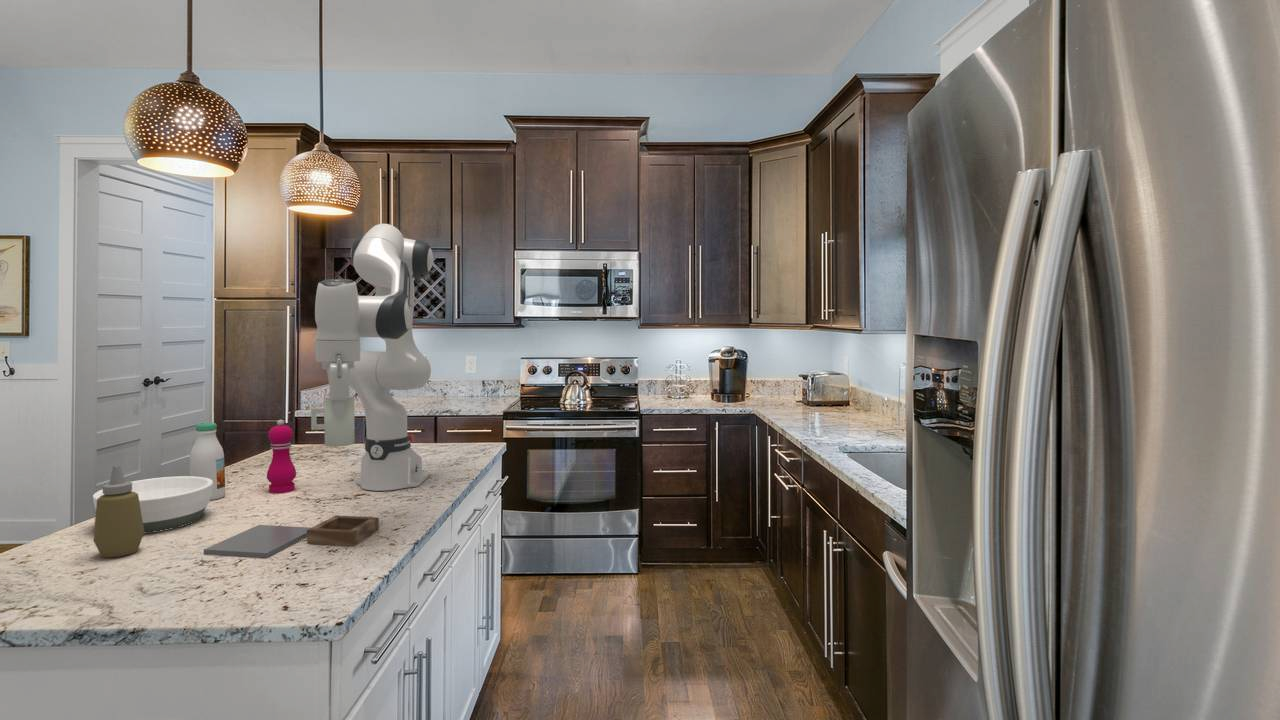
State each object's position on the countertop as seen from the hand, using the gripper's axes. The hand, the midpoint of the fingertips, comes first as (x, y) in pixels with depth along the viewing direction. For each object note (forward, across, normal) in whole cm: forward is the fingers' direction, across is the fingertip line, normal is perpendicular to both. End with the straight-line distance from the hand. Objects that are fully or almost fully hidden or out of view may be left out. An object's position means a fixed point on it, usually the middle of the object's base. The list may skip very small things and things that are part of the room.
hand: (339, 416), depth 140 cm
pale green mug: (+6, 0, +1) cm, 6 cm away
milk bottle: (+27, +48, +32) cm, 64 cm away
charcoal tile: (+27, +3, +15) cm, 31 cm away
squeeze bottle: (+27, +7, +41) cm, 50 cm away
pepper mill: (+27, +49, +14) cm, 58 cm away
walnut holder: (+27, 0, 0) cm, 27 cm away
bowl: (+27, +29, +39) cm, 56 cm away
